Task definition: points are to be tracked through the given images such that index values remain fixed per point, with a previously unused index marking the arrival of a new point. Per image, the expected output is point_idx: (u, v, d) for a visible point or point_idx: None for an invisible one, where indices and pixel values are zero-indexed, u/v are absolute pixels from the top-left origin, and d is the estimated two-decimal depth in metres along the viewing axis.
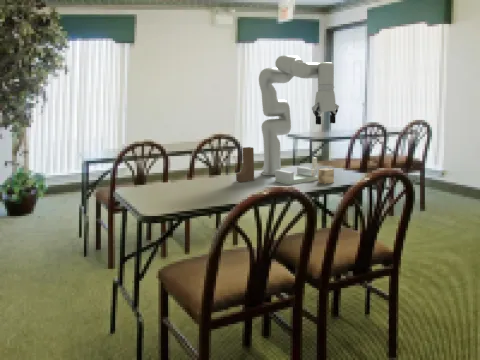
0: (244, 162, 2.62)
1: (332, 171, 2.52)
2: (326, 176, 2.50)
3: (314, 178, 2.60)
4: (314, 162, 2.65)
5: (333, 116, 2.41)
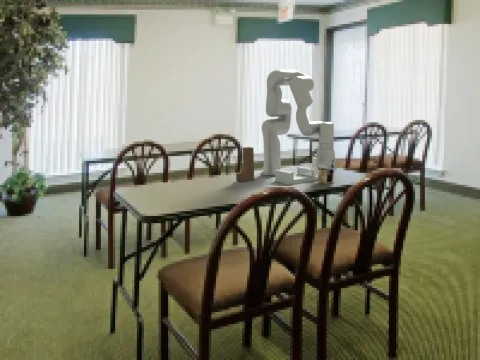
0: (244, 162, 2.62)
1: None
2: (326, 176, 2.50)
3: (314, 178, 2.60)
4: (314, 162, 2.65)
5: None
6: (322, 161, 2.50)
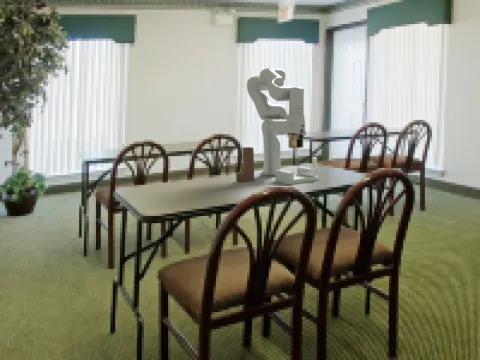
0: (244, 162, 2.62)
1: None
2: (296, 141, 2.52)
3: (314, 178, 2.60)
4: (314, 162, 2.65)
5: None
6: (292, 126, 2.52)
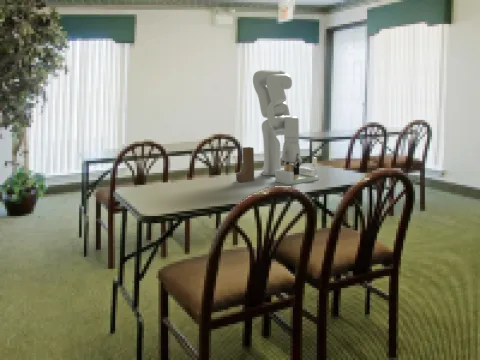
0: (244, 162, 2.62)
1: None
2: (291, 171, 2.55)
3: (314, 178, 2.60)
4: (314, 162, 2.65)
5: None
6: (287, 155, 2.55)
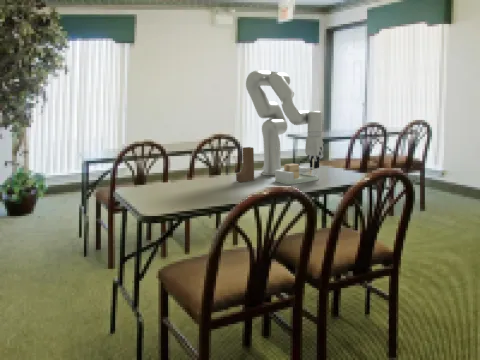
0: (244, 162, 2.62)
1: (297, 166, 2.57)
2: (291, 171, 2.55)
3: (314, 178, 2.60)
4: None
5: None
6: (310, 148, 2.63)
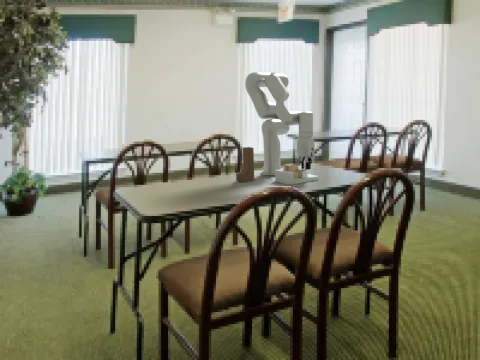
0: (244, 162, 2.62)
1: (297, 166, 2.57)
2: (290, 171, 2.55)
3: (314, 178, 2.60)
4: (305, 163, 2.62)
5: None
6: (302, 149, 2.60)
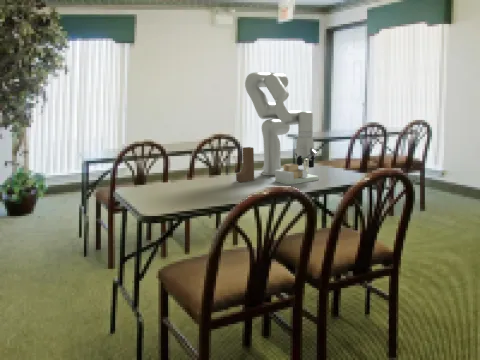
0: (244, 162, 2.62)
1: (297, 166, 2.57)
2: (290, 171, 2.55)
3: (314, 178, 2.60)
4: (305, 163, 2.62)
5: (301, 159, 2.67)
6: (301, 149, 2.60)
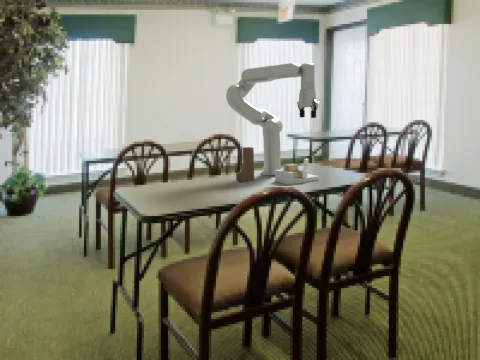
0: (244, 162, 2.62)
1: (297, 166, 2.57)
2: (290, 171, 2.55)
3: (314, 178, 2.60)
4: (305, 163, 2.62)
5: (303, 111, 2.76)
6: (303, 100, 2.69)
